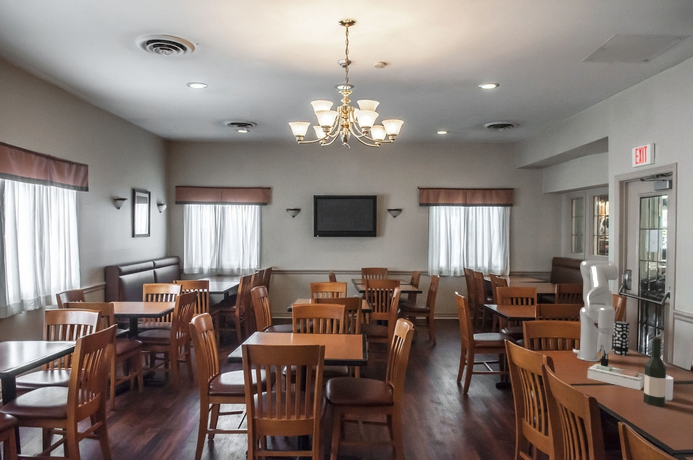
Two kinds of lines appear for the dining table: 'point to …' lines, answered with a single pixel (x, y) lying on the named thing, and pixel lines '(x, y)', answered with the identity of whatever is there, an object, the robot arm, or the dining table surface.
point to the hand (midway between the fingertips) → (604, 365)
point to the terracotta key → (630, 372)
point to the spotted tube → (621, 338)
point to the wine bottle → (655, 376)
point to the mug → (669, 388)
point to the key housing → (616, 377)
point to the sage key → (604, 367)
